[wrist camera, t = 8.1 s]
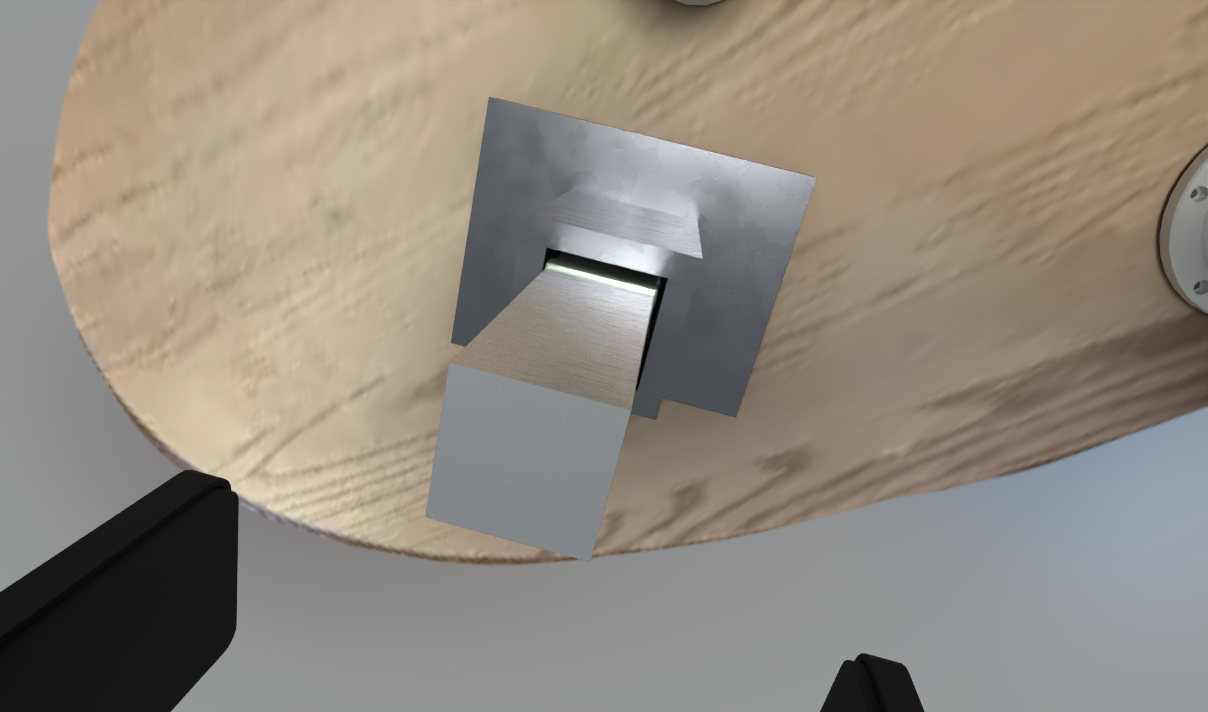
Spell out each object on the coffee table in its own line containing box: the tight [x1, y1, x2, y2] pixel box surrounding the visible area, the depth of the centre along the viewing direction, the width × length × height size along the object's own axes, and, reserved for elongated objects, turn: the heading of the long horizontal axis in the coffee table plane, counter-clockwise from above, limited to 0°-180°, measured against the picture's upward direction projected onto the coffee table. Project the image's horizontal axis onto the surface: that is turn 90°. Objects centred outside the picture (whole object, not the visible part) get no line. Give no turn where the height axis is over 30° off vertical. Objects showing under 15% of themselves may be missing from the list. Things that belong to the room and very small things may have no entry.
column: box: [425, 252, 658, 562], centre depth 26 cm, size 5×5×20 cm
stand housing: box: [451, 97, 817, 420], centre depth 36 cm, size 20×16×14 cm
